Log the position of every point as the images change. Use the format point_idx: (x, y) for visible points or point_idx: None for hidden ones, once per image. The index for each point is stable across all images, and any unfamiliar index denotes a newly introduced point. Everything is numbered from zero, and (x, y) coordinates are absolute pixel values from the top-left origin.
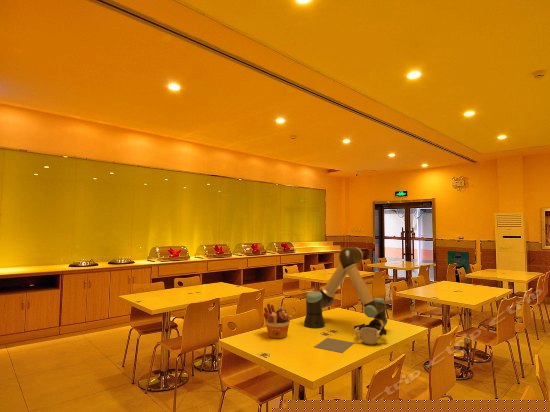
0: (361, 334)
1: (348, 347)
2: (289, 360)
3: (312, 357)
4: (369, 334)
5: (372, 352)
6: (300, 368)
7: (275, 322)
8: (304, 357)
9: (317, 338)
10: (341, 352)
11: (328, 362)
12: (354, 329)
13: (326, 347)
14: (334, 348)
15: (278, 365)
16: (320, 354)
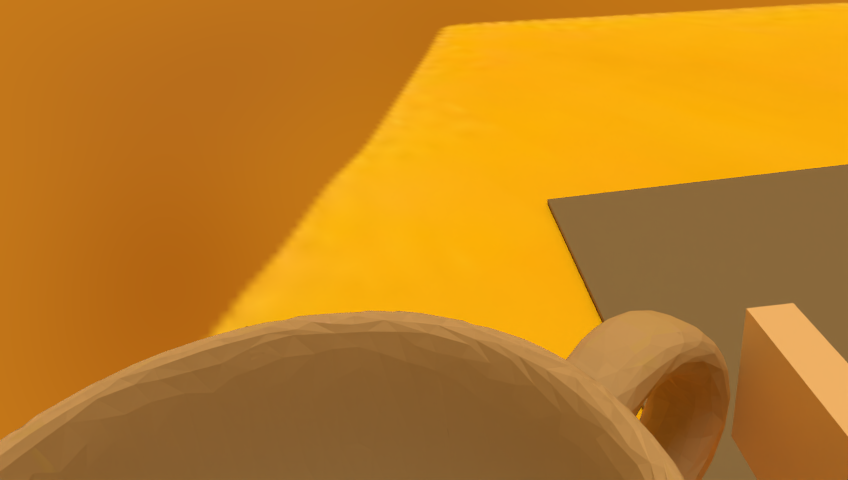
0: (522, 438)
1: (605, 320)
2: (745, 35)
3: (680, 85)
4: (217, 365)
5: None
6: (593, 33)
7: None
8: (724, 69)
9: None
10: (558, 198)
11: (515, 96)
12: (795, 306)
13: (825, 199)
14: (722, 221)
15: (718, 11)
16: (689, 121)
